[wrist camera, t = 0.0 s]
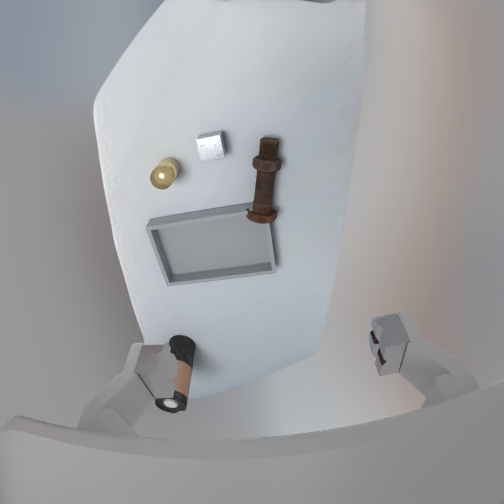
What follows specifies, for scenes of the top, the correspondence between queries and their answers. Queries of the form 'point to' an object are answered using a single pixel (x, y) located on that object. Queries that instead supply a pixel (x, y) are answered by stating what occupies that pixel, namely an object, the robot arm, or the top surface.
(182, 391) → the travel mug
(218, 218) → the parts tray
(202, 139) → the steel block
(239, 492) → the robot arm
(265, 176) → the bolt
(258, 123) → the top surface
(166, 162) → the brass cylinder
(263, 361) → the top surface
